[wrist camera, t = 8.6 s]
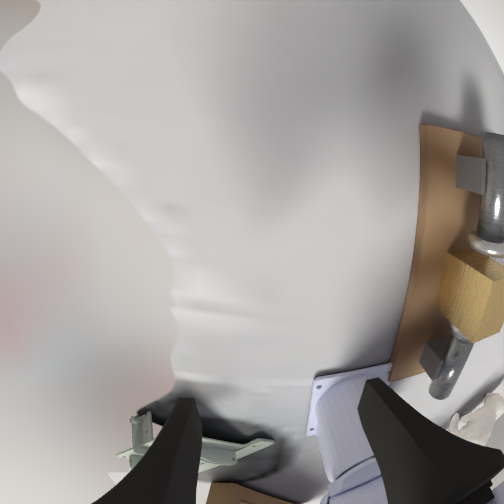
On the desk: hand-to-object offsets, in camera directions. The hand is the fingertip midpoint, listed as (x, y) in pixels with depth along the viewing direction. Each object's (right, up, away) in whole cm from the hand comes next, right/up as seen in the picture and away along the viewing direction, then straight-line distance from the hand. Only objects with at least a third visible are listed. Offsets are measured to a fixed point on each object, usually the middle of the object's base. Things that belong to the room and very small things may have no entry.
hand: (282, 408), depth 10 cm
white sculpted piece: (+34, -19, +19) cm, 43 cm away
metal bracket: (-8, -15, +15) cm, 23 cm away
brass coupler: (+15, +4, +8) cm, 18 cm away
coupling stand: (+15, +5, +9) cm, 19 cm away
